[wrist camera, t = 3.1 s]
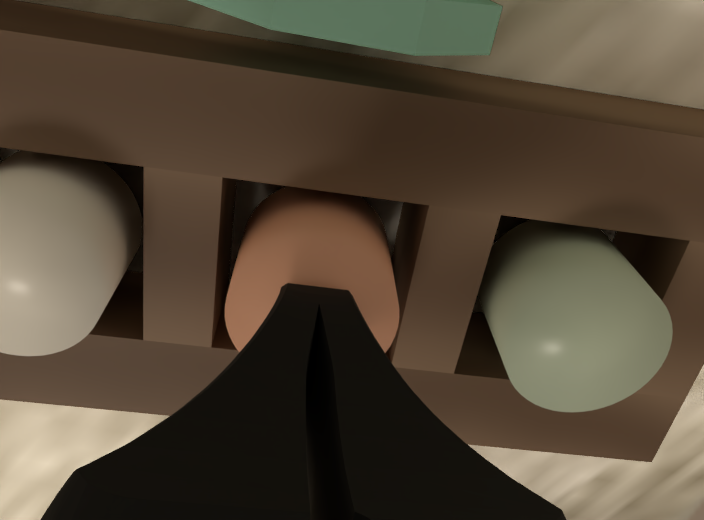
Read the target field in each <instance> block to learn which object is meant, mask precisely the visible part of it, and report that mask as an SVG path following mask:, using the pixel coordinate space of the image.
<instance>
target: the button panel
mask: <svg viewBox="0 0 704 520" xmlns="http://www.w3.org/2000/svg"><path fill="white" fill-rule="evenodd" d="M0 147H2V148H10V149H17V150H24V151H32V152H39V153H46V154H54V155H61V156H69V157H76V158H83V159H91V160H98V161H105V162H113V163H120V164H128V165H135V166H142V167H144V223H143V273H139V272H130V271H126V272H125V274H124V276H123V277H122V279H121V281H120V283H119V284H118V286H117V288H116V290H115V291H114V293H113V295H112V297H111V299H110V300H109V302H108V304H107V306H106V307H105V309H104V311H103V313H102V314H101V316H100V318H99V320H98V322H97V323H96V325H95V326H94V328H93V329H92V331H91V332H90V333H89V334H88V335H87V336H86V337H85V338H84V339H82V340H81V341H80V342H79V343H77V344H75V345H74V346H72V347H70V348H68V349H65V350H63V351H60V352H57V353H53V354H48V355H42V356H17V355H11V354H5V353H1V352H0V399H3V400H13V401H23V402H34V403H44V404H55V405H65V406H75V407H86V408H96V409H106V410H117V411H127V412H138V413H148V414H158V415H169V416H171V415H172V414H174V413H175V412H176V411H178V410H179V409H180V408H182V407H183V406H184V405H185V404H186V403H188V402H189V401H190V400H191V399H192V398H194V397H195V396H196V395H197V394H199V393H200V392H201V391H202V390H203V389H204V388H206V387H207V386H208V385H209V384H210V383H211V382H212V381H213V380H214V379H215V378H216V377H217V376H218V375H219V374H220V373H221V372H222V371H223V370H224V369H225V368H226V367H227V366H228V365H229V364H230V363H231V362H232V361H233V360H234V358H235V357H236V356H237V355H238V354H239V351H238V350H237V349H236V347H235V346H234V344H233V342H232V340H231V338H230V336H229V333H228V330H227V327H226V322H225V303H226V297H227V293H228V289H229V286H230V283H229V273H230V260H231V247H232V234H233V221H234V208H235V195H236V182H237V179H238V180H246V181H253V182H260V183H268V184H275V185H283V186H290V187H297V188H305V189H312V190H319V191H327V192H334V193H342V194H349V195H356V196H364V197H371V198H378V199H386V200H393V201H401V202H403V207H402V212H401V216H400V221H399V226H398V230H397V235H396V240H395V244H394V249H393V254H392V258H391V263H392V269H393V274H394V280H395V286H396V292H397V297H398V303H399V324H398V329H397V332H396V335H395V338H394V340H393V342H392V344H391V346H390V347H389V348H388V350H387V351H386V353H385V354H386V355H387V357H388V358H389V360H390V361H391V363H392V364H393V366H394V367H395V368H396V370H397V371H398V372H399V374H400V375H401V376H402V378H403V379H404V380H405V382H406V383H407V384H408V386H409V387H410V388H411V389H412V390H413V392H414V393H415V394H416V395H417V396H418V397H419V398H420V399H421V401H422V402H423V403H424V404H425V405H426V406H427V407H428V408H429V409H430V410H431V411H432V412H433V413H434V414H435V415H436V416H437V417H438V418H439V419H440V420H441V421H442V422H443V423H444V424H445V425H446V426H447V427H448V428H449V429H450V430H452V431H453V432H454V433H455V434H456V435H457V436H458V437H459V438H460V439H462V440H463V441H464V442H465V443H466V444H470V445H480V446H490V447H501V448H511V449H521V450H532V451H542V452H553V453H563V454H573V455H584V456H594V457H604V458H615V459H625V460H636V461H646V462H652V460H653V458H654V456H655V455H656V453H657V451H658V449H659V447H660V445H661V443H662V441H663V440H664V438H665V436H666V434H667V432H668V430H669V428H670V426H671V425H672V423H673V421H674V419H675V417H676V415H677V413H678V411H679V410H680V408H681V406H682V404H683V402H684V400H685V398H686V396H687V395H688V393H689V391H690V389H691V387H692V385H693V383H694V381H695V379H696V378H697V376H698V374H699V372H700V370H701V368H702V366H703V364H704V110H702V109H696V108H690V107H683V106H677V105H671V104H664V103H658V102H652V101H645V100H639V99H633V98H627V97H620V96H614V95H608V94H601V93H595V92H589V91H582V90H576V89H570V88H564V87H557V86H551V85H545V84H538V83H532V82H526V81H519V80H513V79H507V78H501V77H494V76H488V75H482V74H475V73H469V72H463V71H456V70H450V69H444V68H438V67H431V66H425V65H419V64H412V63H406V62H400V61H393V60H387V59H381V58H375V57H368V56H362V55H356V54H349V53H343V52H337V51H330V50H324V49H318V48H312V47H305V46H299V45H293V44H286V43H280V42H274V41H267V40H261V39H255V38H249V37H242V36H236V35H230V34H223V33H217V32H211V31H204V30H198V29H192V28H186V27H179V26H173V25H167V24H160V23H154V22H148V21H141V20H135V19H129V18H123V17H116V16H110V15H104V14H97V13H91V12H85V11H78V10H72V9H66V8H60V7H53V6H47V5H41V4H34V3H28V2H22V1H15V0H0ZM501 215H504V216H511V217H519V218H526V219H533V220H541V221H548V222H555V223H563V224H570V225H578V226H585V227H592V228H600V229H607V230H614V231H617V233H616V235H615V238H614V240H613V244H614V245H615V246H616V247H617V248H618V250H619V251H620V252H621V253H622V254H623V256H624V257H625V258H626V259H627V260H628V261H629V263H630V264H631V265H632V266H633V267H634V268H635V270H636V271H637V272H638V273H639V274H640V275H641V277H642V278H643V279H644V280H645V281H646V282H647V284H648V285H649V286H650V287H651V288H652V290H653V291H654V292H655V293H656V294H657V295H658V297H659V298H660V299H661V300H662V302H663V303H664V304H665V306H666V307H667V310H668V312H669V314H670V317H671V321H672V329H673V334H672V342H671V346H670V350H669V352H668V355H667V357H666V359H665V361H664V363H663V364H662V366H661V367H660V369H659V370H658V371H657V373H656V374H655V375H654V376H653V377H652V378H651V380H650V381H649V382H648V383H646V384H645V385H644V386H643V387H642V388H641V389H639V390H638V391H636V392H635V393H634V394H632V395H630V396H629V397H627V398H625V399H623V400H621V401H619V402H617V403H615V404H612V405H610V406H607V407H604V408H600V409H596V410H592V411H585V412H559V411H553V410H549V409H546V408H543V407H540V406H538V405H535V404H534V403H532V402H530V401H528V400H527V399H526V398H524V397H523V396H522V395H521V394H520V393H519V392H518V391H517V390H516V389H515V387H514V386H513V384H512V383H511V381H510V379H509V377H508V374H507V372H506V369H505V366H504V364H503V361H502V359H501V356H500V353H499V351H498V348H497V346H496V343H495V340H494V338H493V335H492V333H491V330H490V327H489V325H488V322H487V320H486V317H485V314H484V313H476V312H472V311H473V308H474V304H475V301H476V298H477V294H478V291H479V288H480V284H481V281H482V278H483V274H484V271H485V267H486V264H487V261H488V257H489V254H490V251H491V247H492V244H493V241H494V237H495V234H496V231H497V227H498V224H499V221H500V217H501Z"/></svg>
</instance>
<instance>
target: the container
mask: <svg viewBox="0 0 704 520" xmlns="http://www.w3.org/2000/svg"><path fill="white" fill-rule="evenodd" d="M188 1H191V2H194V3H197V4H200V5H203V6H205V7H208V8H211V9H214V10H217V11H219V12H222V13H225V14H228V15H231V16H234V17H236V18H239V19H242V20H245V21H248V22H250V23H253V24H256V25H259V26H262V27H265V28H267V29H270V30H275V31H281V32H286V33H292V34H297V35H303V36H308V37H314V38H319V39H325V40H330V41H336V42H342V43H347V44H353V45H358V46H364V47H369V48H375V49H380V50H386V51H391V52H397V53H402V54H408V55H413V56H446V55H490V52H491V48H492V44H493V41H494V37H495V33H496V30H497V26H498V22H499V18H500V15H501V11H502V7H503V6H501V5H499V4H497V3H494V2H492V1H490V0H188Z"/></svg>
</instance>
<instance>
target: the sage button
mask: <svg viewBox="0 0 704 520" xmlns="http://www.w3.org/2000/svg"><path fill="white" fill-rule="evenodd" d="M478 298H479V301H480V304H481V307H482V309H483V312H484V314H485V317H486V320H487V322H488V325H489V327H490V330H491V333H492V335H493V338H494V340H495V343H496V346H497V348H498V351H499V353H500V356H501V359H502V361H503V364H504V366H505V369H506V372H507V374H508V377H509V379H510V381H511V383H512V384H513V386H514V387H515V389H516V390H517V391H518V392H519V393H520V394H521V395H522V396H523V397H524V398H526V399H527V400H528V401H530V402H532V403H534V404H535V405H538V406H540V407H543V408H546V409H549V410H553V411H559V412H585V411H592V410H596V409H600V408H604V407H607V406H610V405H612V404H615V403H617V402H619V401H621V400H623V399H625V398H627V397H629V396H630V395H632V394H634V393H635V392H636V391H638V390H639V389H641V388H642V387H643V386H644V385H645V384H646V383H648V382H649V381H650V380H651V378H652V377H653V376H654V375H655V374H656V373H657V371H658V370H659V369H660V367H661V366H662V364H663V363H664V361H665V359H666V357H667V355H668V352H669V350H670V346H671V342H672V334H673V329H672V321H671V317H670V314H669V312H668V310H667V307H666V306H665V304H664V303H663V302H662V300H661V299H660V298H659V297H658V295H657V294H656V293H655V292H654V291H653V290H652V288H651V287H650V286H649V285H648V284H647V282H646V281H645V280H644V279H643V278H642V277H641V275H640V274H639V273H638V272H637V271H636V270H635V268H634V267H633V266H632V265H631V264H630V263H629V261H628V260H627V259H626V258H625V257H624V256H623V254H622V253H621V252H620V251H619V250H618V248H617V247H616V246H615V245H614V244H613V243H612V241H611V240H610V239H609V238H608V237H607V236H606V234H605V233H604V232H603V231H602V230H601V229H599V228H592V227H585V226H578V225H570V224H563V223H555V222H548V221H541V220H533V219H532V220H529V221H527V222H524V223H522V224H520V225H518V226H516V227H514V228H513V229H511V230H510V231H508V232H507V233H505V234H504V235H503V236H502V237H501V238H500V239H498V240H497V241H496V243H495V244H494V245H493V246H492V247H491V251H490V254H489V257H488V261H487V264H486V267H485V271H484V274H483V278H482V281H481V284H480V288H479V291H478Z"/></svg>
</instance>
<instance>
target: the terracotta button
mask: <svg viewBox="0 0 704 520" xmlns="http://www.w3.org/2000/svg"><path fill="white" fill-rule="evenodd" d="M287 283H293V284H301V285H310V286H318V287H326V288H335V289H343V290H349V291H350V293H351V294H352V295H353V297H354V299H355V302H356V304H357V306H358V308H359V310H360V312H361V314H362V315H363V317H364V319H365V321H366V323H367V325H368V326H369V328H370V330H371V332H372V333H373V335H374V337H375V338H376V340H377V341H378V343H379V344H380V346H381V348H382V349H383V351H384V352H385V353H386V351H387V350H388V348H389V347H390V346H391V344H392V342H393V340H394V338H395V335H396V332H397V329H398V324H399V303H398V297H397V292H396V286H395V280H394V274H393V269H392V263H391V257H390V252H389V246H388V240H387V235H386V231H385V228H384V225H383V223H382V221H381V219H380V217H379V215H378V214H377V212H376V211H375V210H374V208H373V207H372V206H371V205H370V204H369V203H368V202H367V201H366V200H365V199H363V198H362V197H361V196H356V195H349V194H342V193H334V192H327V191H319V190H312V189H305V188H297V187H290V186H287V187H284V188H282V189H280V190H278V191H276V192H274V193H273V194H271V195H269V196H268V197H267V198H266V199H264V200H263V201H262V202H261V203H260V204H259V205H258V206H257V207H256V208H255V210H254V211H253V213H252V214H251V216H250V218H249V220H248V222H247V224H246V227H245V230H244V233H243V237H242V241H241V245H240V248H239V252H238V256H237V260H236V263H235V267H234V271H233V274H232V278H231V282H230V286H229V289H228V293H227V297H226V303H225V322H226V327H227V330H228V333H229V336H230V338H231V340H232V342H233V344H234V346H235V347H236V349H237V350H238V351H239V352H240V351H241V350H242V349H243V348H244V347H245V345H246V344H247V343H248V342H249V341H250V339H251V338H252V337H253V335H254V334H255V333H256V331H257V330H258V328H259V327H260V326H261V324H262V323H263V321H264V320H265V318H266V317H267V315H268V314H269V312H270V310H271V309H272V307H273V305H274V304H275V302H276V300H277V298H278V295H279V293H280V290H281V287H282V286H284V285H285V284H287Z"/></svg>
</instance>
